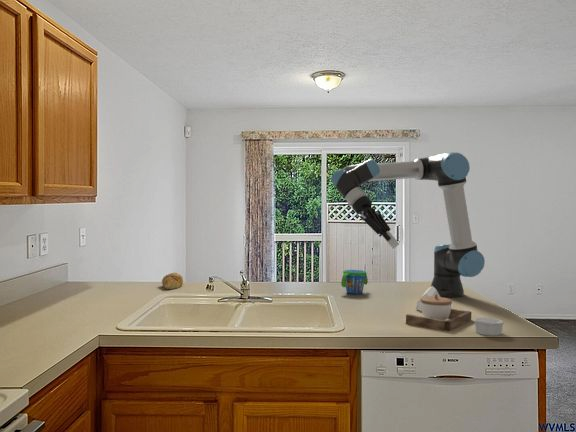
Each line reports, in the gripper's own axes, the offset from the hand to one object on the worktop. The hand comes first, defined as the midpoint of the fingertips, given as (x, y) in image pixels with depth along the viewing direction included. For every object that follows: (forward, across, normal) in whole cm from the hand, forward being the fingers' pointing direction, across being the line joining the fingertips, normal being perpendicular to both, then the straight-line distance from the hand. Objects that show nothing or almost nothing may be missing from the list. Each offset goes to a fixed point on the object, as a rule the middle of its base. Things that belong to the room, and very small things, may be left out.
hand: (396, 246), depth 190 cm
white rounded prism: (+21, -22, -16) cm, 35 cm away
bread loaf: (-58, +21, -95) cm, 113 cm away
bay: (+30, 0, -6) cm, 31 cm away
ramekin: (+44, +4, +7) cm, 45 cm away
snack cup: (-6, -26, -43) cm, 51 cm away
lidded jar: (+30, 0, -7) cm, 31 cm away
